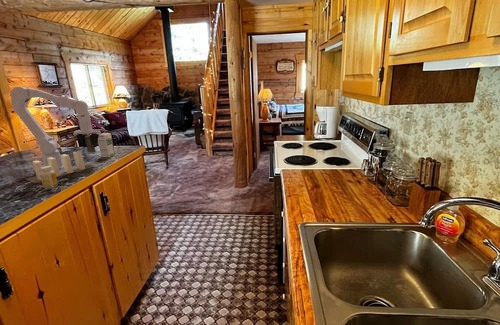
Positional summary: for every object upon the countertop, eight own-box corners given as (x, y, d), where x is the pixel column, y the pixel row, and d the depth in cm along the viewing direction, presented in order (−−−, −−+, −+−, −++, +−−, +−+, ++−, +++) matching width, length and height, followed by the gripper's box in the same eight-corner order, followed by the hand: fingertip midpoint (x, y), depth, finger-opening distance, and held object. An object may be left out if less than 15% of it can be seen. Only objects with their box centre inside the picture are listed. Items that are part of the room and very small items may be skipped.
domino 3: (69, 173, 136) (64, 156, 133) (64, 171, 139) (60, 155, 136) (73, 172, 137) (69, 155, 135) (68, 170, 140) (64, 154, 137)
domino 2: (56, 176, 131) (51, 159, 128) (51, 175, 134) (46, 158, 131) (60, 175, 133) (55, 158, 130) (56, 174, 135) (51, 157, 133)
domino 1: (41, 180, 126) (36, 162, 124) (37, 179, 129) (32, 161, 126) (46, 179, 128) (41, 161, 125) (42, 177, 131) (37, 160, 128)
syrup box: (109, 157, 163) (104, 134, 159) (101, 157, 165) (96, 134, 160) (115, 155, 169) (111, 132, 164) (107, 155, 170) (102, 132, 166)
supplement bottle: (45, 190, 115) (39, 169, 113) (42, 187, 119) (36, 167, 116) (60, 186, 119) (54, 166, 117) (56, 184, 123) (50, 164, 120)
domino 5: (92, 152, 150) (88, 137, 147) (87, 151, 153) (84, 136, 150) (95, 151, 152) (92, 136, 149) (91, 151, 154) (87, 135, 152)
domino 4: (81, 169, 141) (77, 153, 138) (76, 168, 143) (72, 152, 141) (85, 168, 142) (81, 152, 140) (80, 167, 145) (76, 151, 142)
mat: (25, 179, 130) (24, 178, 130) (93, 161, 156) (93, 160, 156) (35, 184, 124) (34, 183, 124) (104, 164, 150) (104, 163, 150)
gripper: (67, 124, 144) (73, 148, 148) (92, 123, 143) (98, 148, 147) (76, 122, 151) (82, 145, 155) (100, 121, 149) (105, 145, 153)
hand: (90, 146), depth 151 cm, fingers closed on domino 5, 5 cm apart
